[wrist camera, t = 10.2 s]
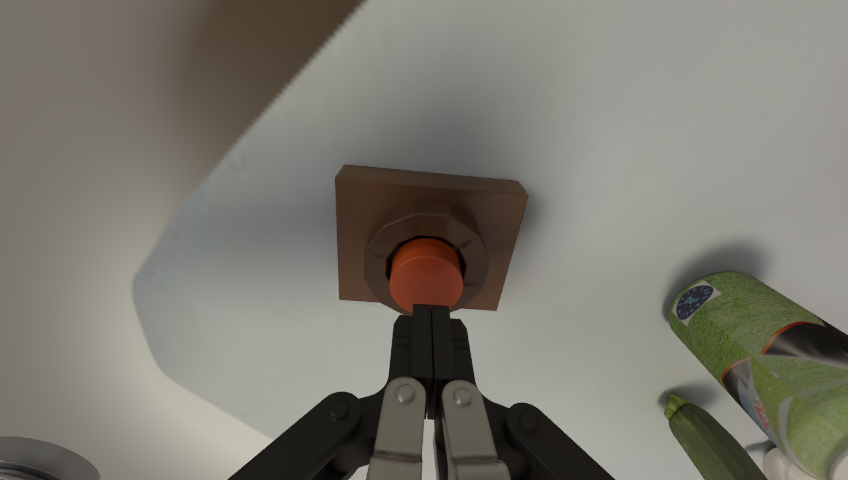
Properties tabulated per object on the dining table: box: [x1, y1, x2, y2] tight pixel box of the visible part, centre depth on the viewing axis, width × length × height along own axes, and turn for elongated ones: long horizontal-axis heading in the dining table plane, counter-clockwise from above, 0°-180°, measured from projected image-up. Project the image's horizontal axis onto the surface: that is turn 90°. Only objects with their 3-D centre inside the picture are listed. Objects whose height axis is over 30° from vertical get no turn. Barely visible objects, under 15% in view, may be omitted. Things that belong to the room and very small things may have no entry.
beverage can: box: [669, 272, 848, 480], centre depth 18 cm, size 6×7×12 cm
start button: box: [390, 238, 463, 312], centre depth 17 cm, size 4×4×2 cm
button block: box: [335, 165, 528, 316], centre depth 19 cm, size 10×8×4 cm
